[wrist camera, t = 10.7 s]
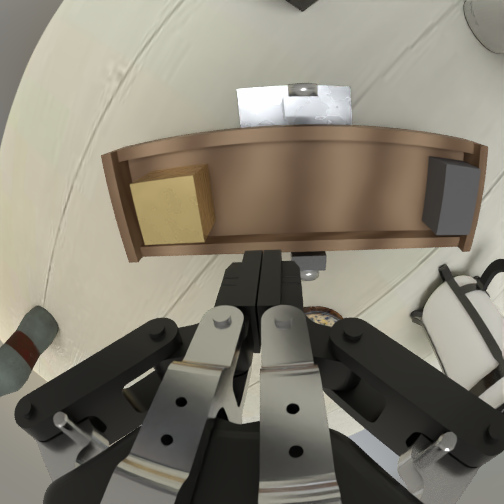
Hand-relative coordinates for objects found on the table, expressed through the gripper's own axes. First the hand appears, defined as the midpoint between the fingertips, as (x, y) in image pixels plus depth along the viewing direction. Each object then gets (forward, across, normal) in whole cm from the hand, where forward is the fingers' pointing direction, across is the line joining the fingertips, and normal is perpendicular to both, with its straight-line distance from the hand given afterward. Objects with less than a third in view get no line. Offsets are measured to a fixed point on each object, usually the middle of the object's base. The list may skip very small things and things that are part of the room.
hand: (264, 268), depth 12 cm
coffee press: (+22, -29, +20) cm, 41 cm away
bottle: (+21, +55, +28) cm, 65 cm away
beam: (+13, -3, 0) cm, 13 cm away
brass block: (+11, +7, 0) cm, 14 cm away
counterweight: (+11, -16, 0) cm, 19 cm away
